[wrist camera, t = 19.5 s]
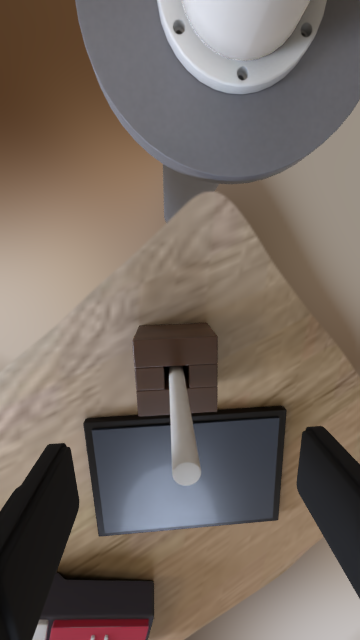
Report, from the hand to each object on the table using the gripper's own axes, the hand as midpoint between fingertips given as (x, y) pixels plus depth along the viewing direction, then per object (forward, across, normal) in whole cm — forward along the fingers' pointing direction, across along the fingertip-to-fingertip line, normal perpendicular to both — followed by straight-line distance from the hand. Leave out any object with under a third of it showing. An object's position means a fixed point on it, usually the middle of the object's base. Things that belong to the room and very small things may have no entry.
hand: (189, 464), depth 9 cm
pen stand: (+13, 0, +1) cm, 13 cm away
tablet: (+13, -1, +14) cm, 19 cm away
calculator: (+12, +12, +33) cm, 37 cm away
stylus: (+13, 0, +1) cm, 13 cm away
